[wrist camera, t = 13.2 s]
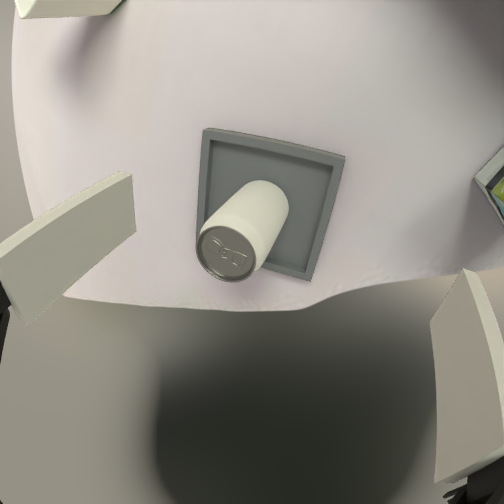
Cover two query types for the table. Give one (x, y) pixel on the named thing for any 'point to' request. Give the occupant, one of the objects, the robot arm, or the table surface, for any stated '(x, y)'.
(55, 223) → the robot arm
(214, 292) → the table surface
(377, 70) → the table surface
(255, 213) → the can
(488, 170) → the tea box
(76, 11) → the cup
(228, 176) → the tray
